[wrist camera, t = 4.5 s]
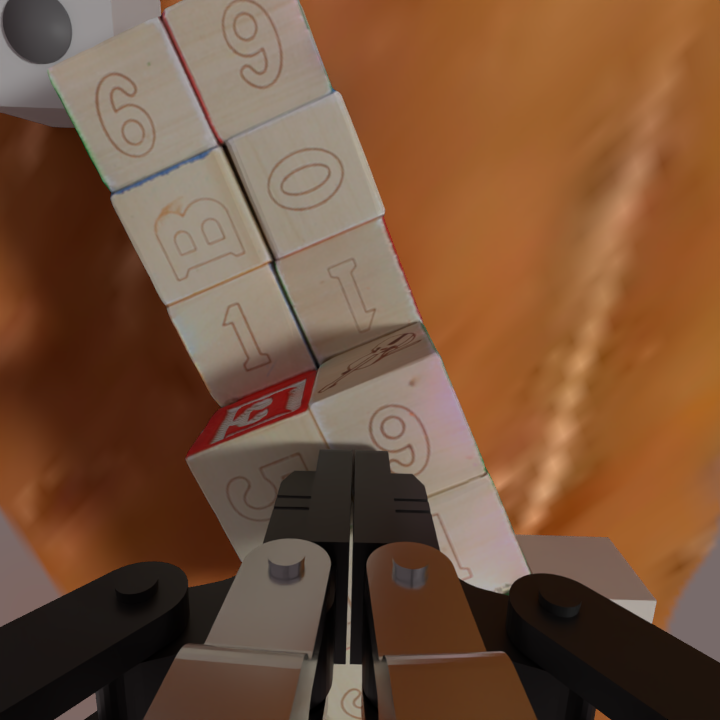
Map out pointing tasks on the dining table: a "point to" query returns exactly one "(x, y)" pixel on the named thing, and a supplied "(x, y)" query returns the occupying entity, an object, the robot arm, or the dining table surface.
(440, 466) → the stack of blocks
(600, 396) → the dining table surface
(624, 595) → the ivory marked cube
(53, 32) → the grey marked cube
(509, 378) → the dining table surface
